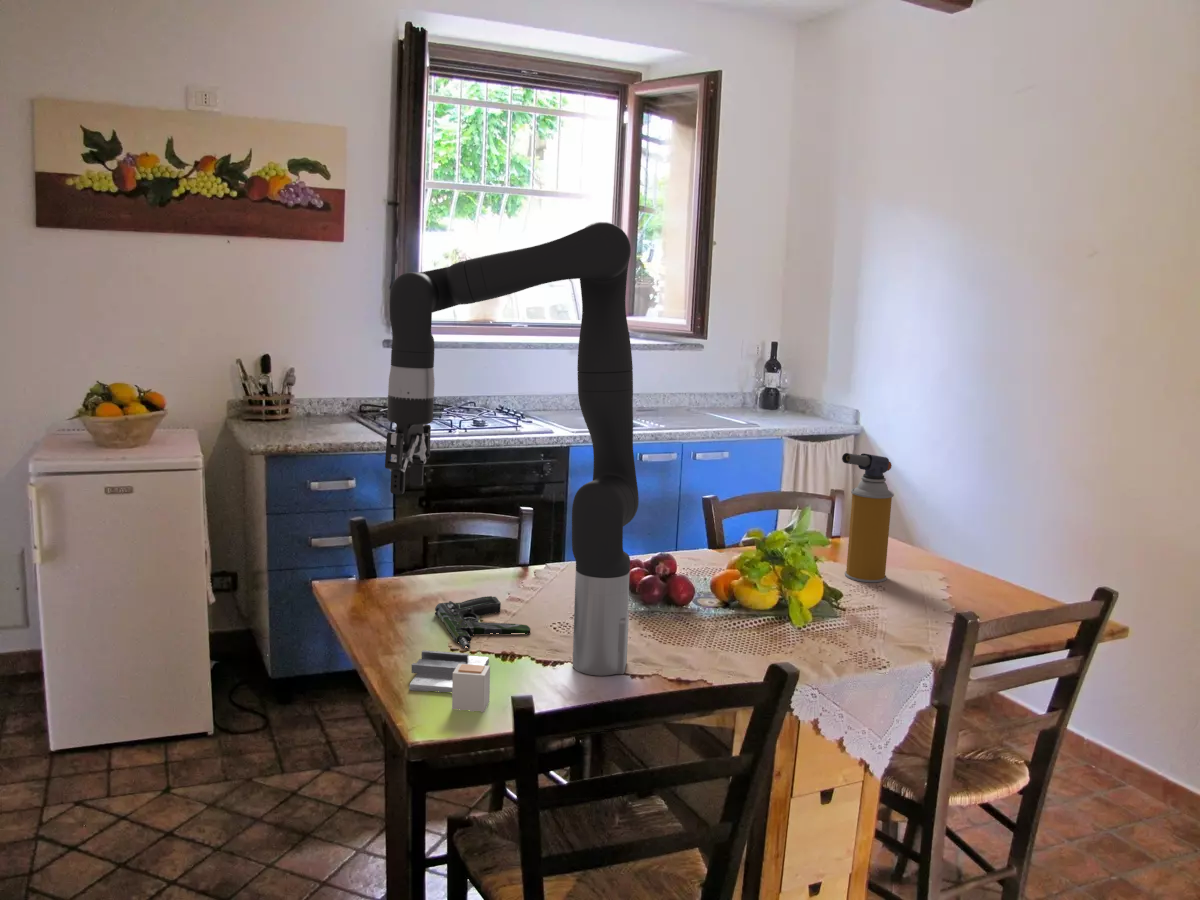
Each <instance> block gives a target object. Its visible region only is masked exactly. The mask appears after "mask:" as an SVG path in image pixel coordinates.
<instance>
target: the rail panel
mask: <svg viewBox="0 0 1200 900" xmlns="http://www.w3.org/2000/svg"><path fill="white" fill-rule="evenodd" d="M489 663H490V656H477V655H469V653H468V652H467V653H465V652H453V651H452V652H451V651H438V650H425V649H423V650H422V651H421V658H419V659H418V661H417V662H413V663H412V664H411V673H412V674H416V675H415V676H414V678H413V679H412V680H411V682H410V683H409V691H417V692H428V691H437V692H436V693H441V692H452V680H453V672H454V670H455V669H456V667H457V666H458V664H472V665H485V666H489ZM438 691H439V692H438Z"/></svg>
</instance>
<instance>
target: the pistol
mask: <svg viewBox="0 0 1200 900" xmlns="http://www.w3.org/2000/svg"><path fill="white" fill-rule="evenodd" d="M501 603H502V602H500V600H499V599H498V598H497V596H492V595H490V596H488V595H487V596H481V597H477V598H472V599H467V600H465V601H462V602H452V601H451V600H449V601H448V602H440V603H438V604H437V605H436V606H435V607H434V611H435V612H434V615H435V616H437V617H439V619H440V620H441V621H442V623H443V624H445V628H446V629H447V631H448V632H449V633H451V634H450V635H451V636H452V639H453V641H454V642H456V643H457V642H459V643H460V646H461V645H462V646H461V647H462V649H463V648H465V646H467V647H468V648H471V644H470V642H468V641H471V642H472V637H470V636H473V637H474V635H473V634H490V633H493V634H496V633H499V634H511V633H525V634H527V633H530V634H531V628H530V626H529V625H527V624H521V623H509V622H508V623H505V622H504V623H503V622H481V621H480V622H479V620H480V618H479V617H480V616H485V614H486V615H489V613H490V614H496V613H495V612H500V613H501V606H502V604H501ZM527 635H528V634H527ZM459 643H458V644H459Z"/></svg>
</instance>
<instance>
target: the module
mask: <svg viewBox="0 0 1200 900" xmlns="http://www.w3.org/2000/svg"><path fill="white" fill-rule="evenodd" d="M490 685H491V665H487V666H485V665H472V664H458V666H457V667H456V669H455V670H454V672H453V680H452V693H451V695H452V696H451V710H452V709H458V710H457V711H461V710H470V711H469V712H474V711H481V712H480V713H485V711H486V709H487V708H488V705H489V704H488V703H490V696H491V695H490V693H491V691H490V690H491V689H490V688H491V687H490ZM459 709H460V710H459Z"/></svg>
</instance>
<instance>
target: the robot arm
mask: <svg viewBox="0 0 1200 900" xmlns="http://www.w3.org/2000/svg"><path fill="white" fill-rule="evenodd" d="M631 249H632V248H631V242H630V240H629V237H628V235H627V234H626V232H625V231H624V230H623V229H622V228H621V227H620V226H618V225H617V224H615V223H611V222H608V221H595V222H592V223H590V224H588V225H587V226H585V227H584V228H582V229H579V230H577V231H574V232H572V233H570V234H567V235H564V236H562V237H560V238H557V239H555V240H551V241H547V242H545V243H541V244H537V245H533V246H528V247H525V248H519V249H514V250H509V251H502V252H497V253H492V254H487V255H482V256H479V257H474V258H470V259H465V260H462V261H458V262H455V263H453V264H451V265H450V266H447V267H442V268H441V267H440V268H435V269H430V270H426V271H419V272H415V271H414V272H413V271H410V272H409V271H408V272H405V273H401V275H399V276H397V278H396V279H395V280H394V281H393V283H392V285H391V288H390V293H389V294H390V295H389V312H390V313H389V314H390V324H391V325H390V326H391V332H392V340H391V341H392V342H391V351H390V357H391V358H390V371H389V375H388V376H389V377H388V386H387V388H388V390H387V391H388V392H387V393H388V394H387V412H386V413H387V414H386V419H387V421H389V422H391V423H394V424H395V425H396V427H395V432H394V431H393V432H391V431H388V432H387V434H386V443H385V456H384V457H385V459H384V461H385V462H384V468H385V469H386V470H388V471H390V493H391V494H394V495H403V494H404V493H405V490H406V469H407V466H408V463H409V462H411V463H410V464H409V465H410V466H409V467H410V468H409V484H410V485H411V486H416V487H417V486H418V487H420V486H423V484H424V468H425V464H426V463H427V460H429V459H430V457H431V431H432V428H431V425H430V424H432V422H433V421H434V418H433V417H434V406H435V405H434V403H435V372H434V370H435V368H434V367H435V339H434V336H433V333H432V322H433V321H432V320H433V318H432V316H433V313H435V312H440V311H443V310H446V309H449V308H453V307H456V306H459V305H470V304H476V303H480V302H483V301H488V300H489V301H490V300H493V299H497V298H500V297H505V296H508V295H512V294H516V293H518V292H521V291H524V290H527V289H530V288H534V287H537V286H538V287H539V286H541V285H545V284H549V283H553V282H559V281H566V280H577V279H578V280H579V285H580V292H581V321H580V322H581V323H580V330H579V331H580V332H579V336H578V337H579V338H578V349H577V350H578V351H577V368H576V369H577V395H578V402H579V403H578V404H579V406H580V407H579V408H580V411H581V414H582V417H583V420H584V423H585V425H586V428H587V430H588V433H589V435H590V439H591V442H592V443H591V444H592V451H593V452H592V453H593V471H592V480H591V481H588V482H586V483H584V484H582V486H580V487H579V488H578V490H577V491H576V493H575V494H574V497H573V501H572V506H571V508H572V509H571V548H572V549H571V551H572V554H573V558H574V561H575V578H574V579H575V583H574V585H575V586H574V606H573V607H574V608H573V609H574V611H573V634H572V635H573V636H572V637H573V640H572V641H573V642H572V644H573V645H572V667H573V668H574V669H575V670H576V671H577V672H579V673H582V674H585V675H589V676H591V675H592V676H600V677H601V676H612V675H619V674H620V675H623V674H624V675H625V671H626V668H627V662H628V645H629V644H628V641H629V618H630V611H629V594H630V593H629V592H630V570H631V558H630V555H629V554H628V553H627V552H626V551H624V541H623V540H624V537H623V536H624V532H623V531H624V527H625V526H626V525H628V524H629V523H630V522H631V521H632V520H633V519H634V518H635V516H636V514H637V511H638V508H639V502H640V501H639V489H638V481H637V472H636V465H635V455H634V400H633V399H634V379H633V378H634V377H633V376H634V373H633V370H634V369H633V367H634V366H633V354H632V353H633V352H632V346H631V338H630V337H631V336H630V332H629V326H628V325H629V324H628V319H627V307H626V306H627V303H626V302H627V301H626V298H627V283H628V282H627V281H628V270H629V264H630V259H631V254H632V250H631Z"/></svg>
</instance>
